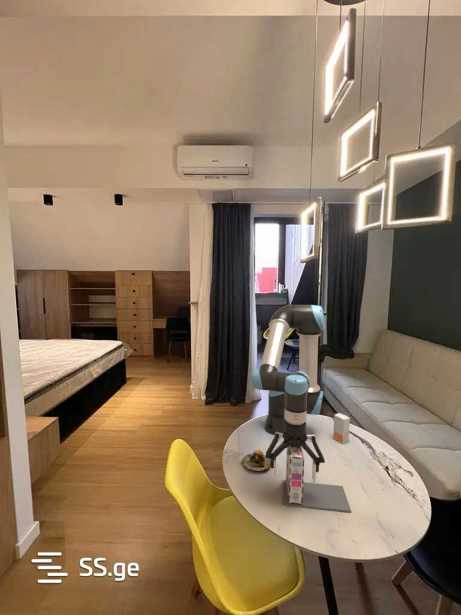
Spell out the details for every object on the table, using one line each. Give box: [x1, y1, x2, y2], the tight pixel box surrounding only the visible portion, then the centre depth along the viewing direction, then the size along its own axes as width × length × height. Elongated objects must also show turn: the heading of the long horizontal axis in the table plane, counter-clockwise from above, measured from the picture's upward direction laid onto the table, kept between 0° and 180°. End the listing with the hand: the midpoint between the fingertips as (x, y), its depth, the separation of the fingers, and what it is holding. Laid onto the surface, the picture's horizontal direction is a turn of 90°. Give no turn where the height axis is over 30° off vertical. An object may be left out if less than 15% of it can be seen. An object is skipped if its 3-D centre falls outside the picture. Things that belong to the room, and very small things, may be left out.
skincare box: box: [332, 412, 351, 445], centre depth 139 cm, size 6×4×12 cm
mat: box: [281, 479, 352, 513], centre depth 103 cm, size 12×22×1 cm, turn 82°
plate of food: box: [241, 448, 271, 472], centre depth 121 cm, size 12×12×8 cm
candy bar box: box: [285, 446, 305, 504], centre depth 103 cm, size 11×5×16 cm, turn 175°
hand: (294, 478), depth 104 cm, fingers open, 13 cm apart
